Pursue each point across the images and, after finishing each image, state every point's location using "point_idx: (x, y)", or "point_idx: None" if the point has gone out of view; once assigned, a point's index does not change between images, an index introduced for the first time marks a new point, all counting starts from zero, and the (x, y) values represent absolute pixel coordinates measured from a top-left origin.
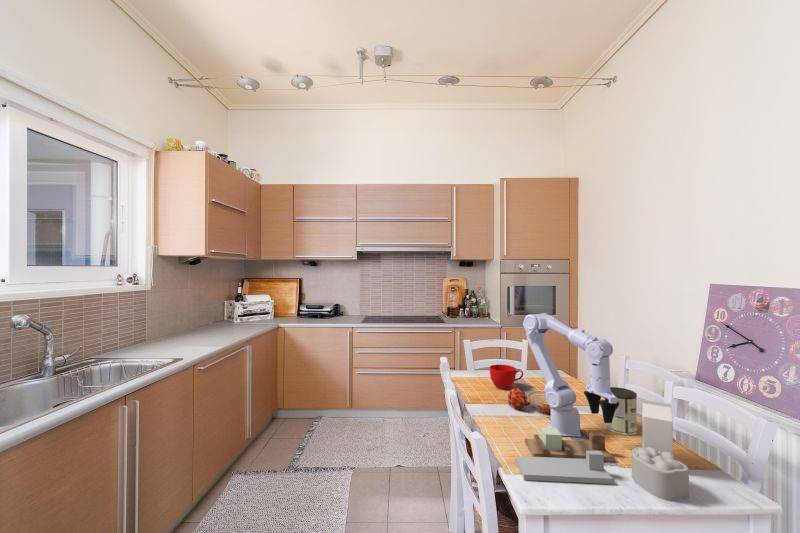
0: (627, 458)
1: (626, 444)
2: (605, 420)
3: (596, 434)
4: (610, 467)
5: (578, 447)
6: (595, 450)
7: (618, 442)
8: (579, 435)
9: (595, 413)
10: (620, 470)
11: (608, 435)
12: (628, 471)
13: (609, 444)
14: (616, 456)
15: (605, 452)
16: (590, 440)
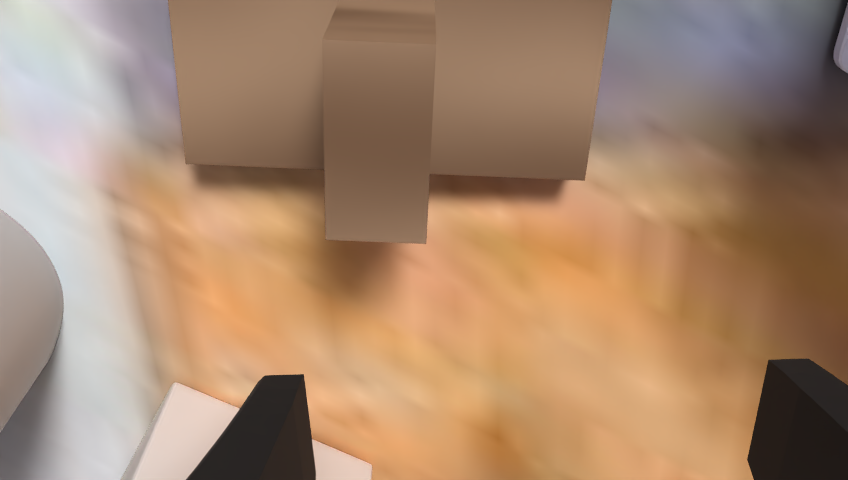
0: (305, 316)
1: (592, 446)
2: (239, 410)
3: (372, 138)
4: (68, 43)
5: None
6: (323, 21)
7: (640, 402)
8: (845, 46)
9: (760, 417)
10: (27, 121)
11: None
12: (29, 191)
13: (604, 299)
14: None
15: (284, 126)
16: (389, 13)
